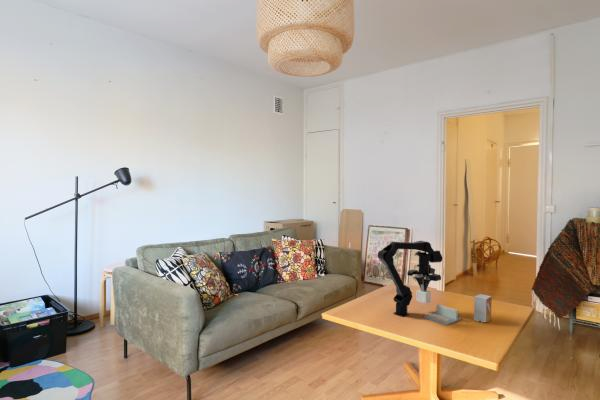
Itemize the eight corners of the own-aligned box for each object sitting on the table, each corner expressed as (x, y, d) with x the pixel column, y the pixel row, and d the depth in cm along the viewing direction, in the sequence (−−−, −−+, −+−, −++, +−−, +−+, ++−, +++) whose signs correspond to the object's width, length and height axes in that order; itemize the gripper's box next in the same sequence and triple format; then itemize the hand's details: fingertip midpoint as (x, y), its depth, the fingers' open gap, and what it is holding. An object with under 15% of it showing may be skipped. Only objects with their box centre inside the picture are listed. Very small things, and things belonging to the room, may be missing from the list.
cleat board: (447, 325, 184) (447, 314, 184) (423, 317, 196) (423, 308, 195) (461, 319, 193) (461, 309, 193) (438, 312, 204) (438, 303, 204)
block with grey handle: (425, 303, 201) (425, 285, 201) (416, 300, 206) (416, 283, 205) (430, 301, 204) (430, 284, 204) (421, 299, 209) (421, 282, 208)
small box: (486, 323, 188) (486, 299, 187) (473, 320, 192) (474, 296, 192) (491, 319, 193) (491, 296, 193) (479, 316, 198) (479, 293, 198)
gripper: (446, 263, 202) (446, 291, 202) (418, 259, 217) (417, 284, 217) (435, 266, 195) (435, 294, 195) (406, 261, 210) (406, 287, 210)
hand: (423, 289), depth 205 cm, fingers closed on block with grey handle
